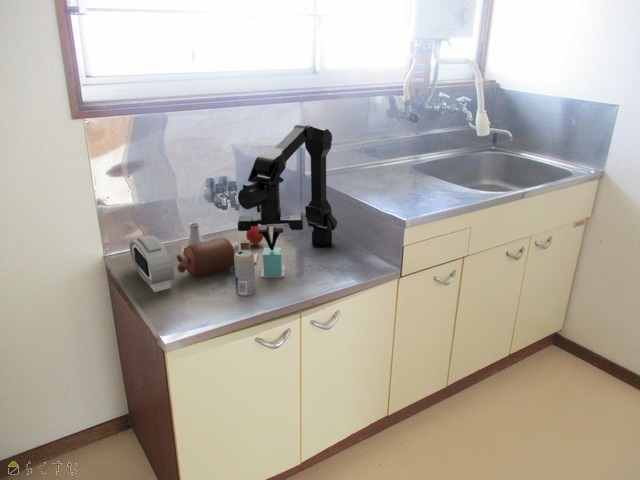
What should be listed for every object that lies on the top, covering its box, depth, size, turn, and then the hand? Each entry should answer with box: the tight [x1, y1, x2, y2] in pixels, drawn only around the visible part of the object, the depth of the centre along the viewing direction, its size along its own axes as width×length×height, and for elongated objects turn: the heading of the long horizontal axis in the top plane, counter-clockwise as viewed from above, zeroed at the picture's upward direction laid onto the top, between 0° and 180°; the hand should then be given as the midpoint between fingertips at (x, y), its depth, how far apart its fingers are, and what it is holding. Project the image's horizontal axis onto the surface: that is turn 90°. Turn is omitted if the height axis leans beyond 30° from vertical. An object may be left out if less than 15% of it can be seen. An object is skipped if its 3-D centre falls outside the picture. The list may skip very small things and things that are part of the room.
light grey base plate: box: [260, 265, 286, 279], centre depth 157 cm, size 7×7×6 cm
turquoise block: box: [262, 247, 283, 275], centre depth 157 cm, size 5×5×7 cm
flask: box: [187, 222, 205, 247], centre depth 171 cm, size 7×7×10 cm
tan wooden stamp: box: [234, 239, 259, 266], centre depth 166 cm, size 7×7×6 cm
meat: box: [176, 237, 240, 279], centre depth 157 cm, size 20×12×10 cm, turn 128°
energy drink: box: [234, 249, 257, 297], centre depth 145 cm, size 5×5×12 cm
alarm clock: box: [129, 235, 175, 293], centre depth 152 cm, size 23×6×13 cm, turn 33°
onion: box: [245, 226, 264, 246], centre depth 177 cm, size 6×6×8 cm
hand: (272, 249), depth 156 cm, fingers closed
